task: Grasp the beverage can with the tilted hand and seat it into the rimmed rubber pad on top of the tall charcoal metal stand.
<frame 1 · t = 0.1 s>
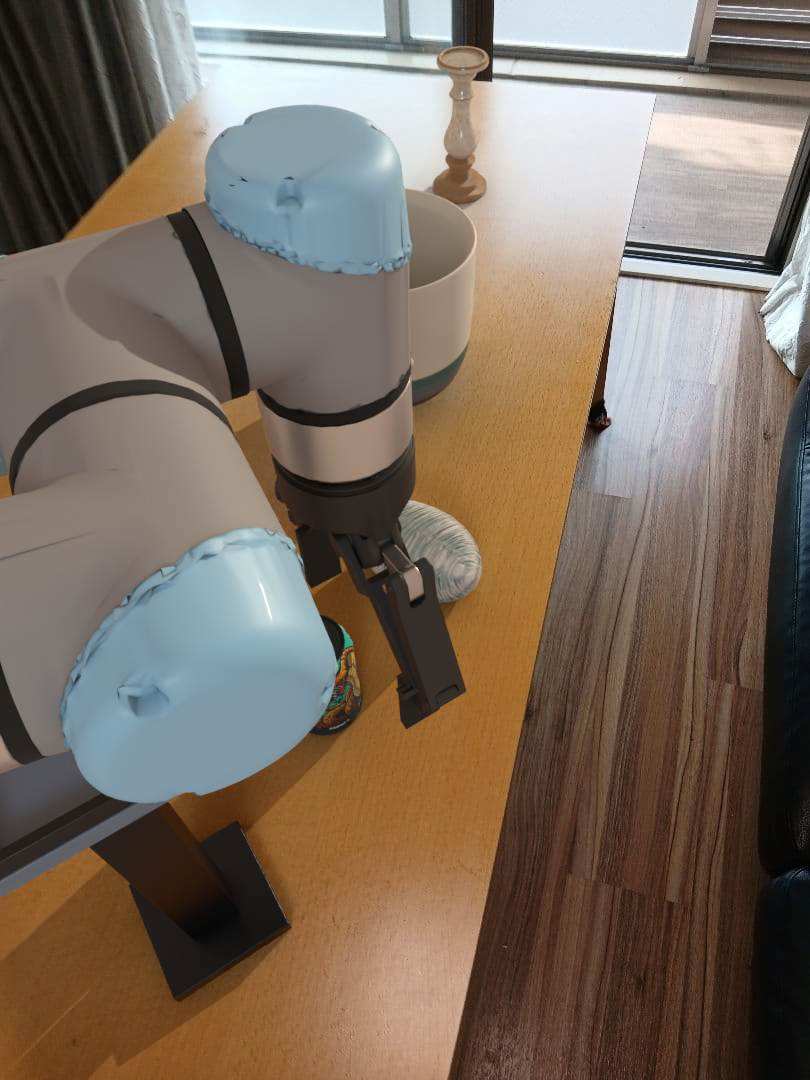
hand: (369, 642, 59), 21 cm above the table, tool pointing down, fingers open, 13 cm apart
grey streaked ellipsoid: (420, 574, 88), on the table
beverage can: (326, 705, 79), on the table
mug: (310, 202, 133), on the table
candle holder: (459, 190, 134), on the table
plate: (123, 365, 110), on the table
planter: (392, 386, 106), on the table
pad stand: (211, 908, 68), on the table
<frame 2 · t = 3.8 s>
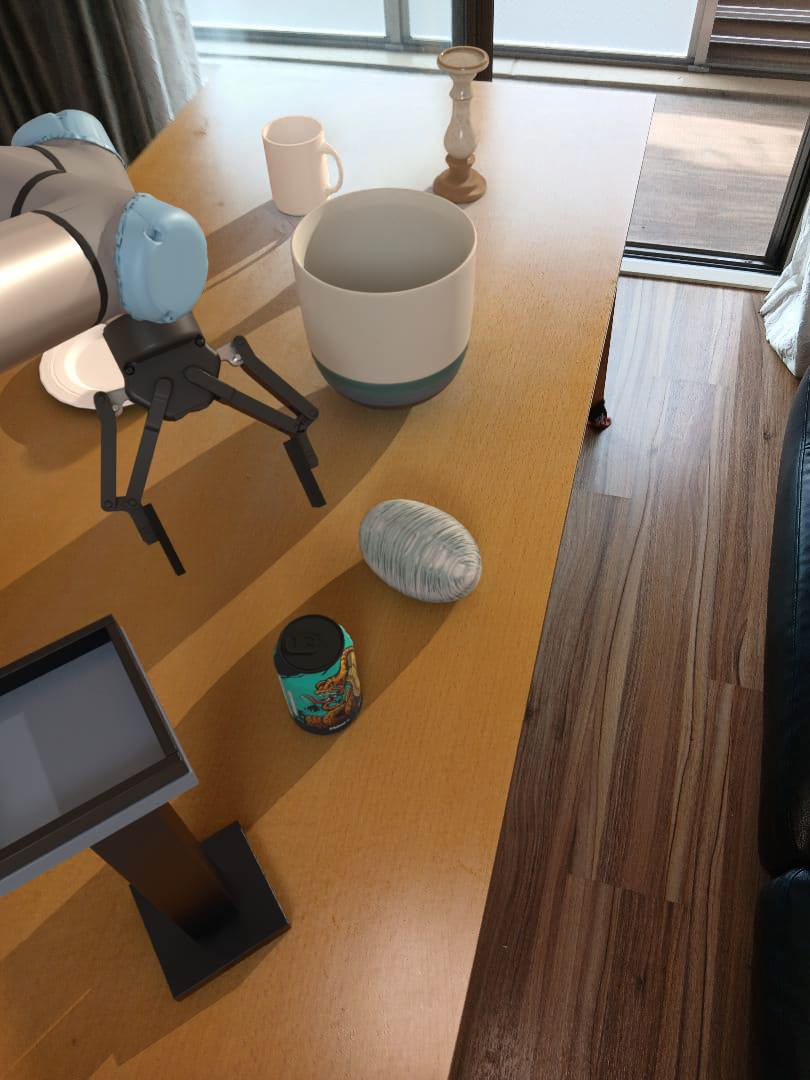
hand: (252, 539, 72), 15 cm above the table, tool tilted 45°, fingers open, 13 cm apart
nothing on the table moved.
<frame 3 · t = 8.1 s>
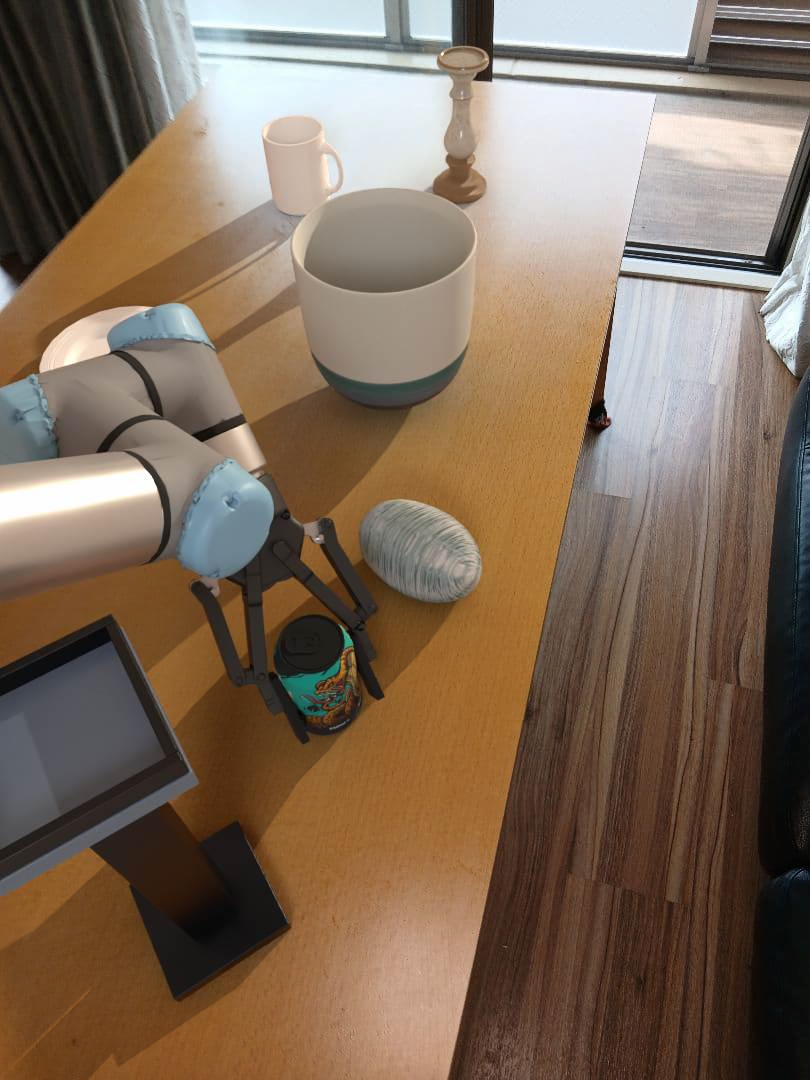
hand: (340, 716, 74), 4 cm above the table, tool tilted 45°, fingers closed on beverage can, 7 cm apart
beverage can: (326, 705, 79), on the table, touching gripper
everything else where it was.
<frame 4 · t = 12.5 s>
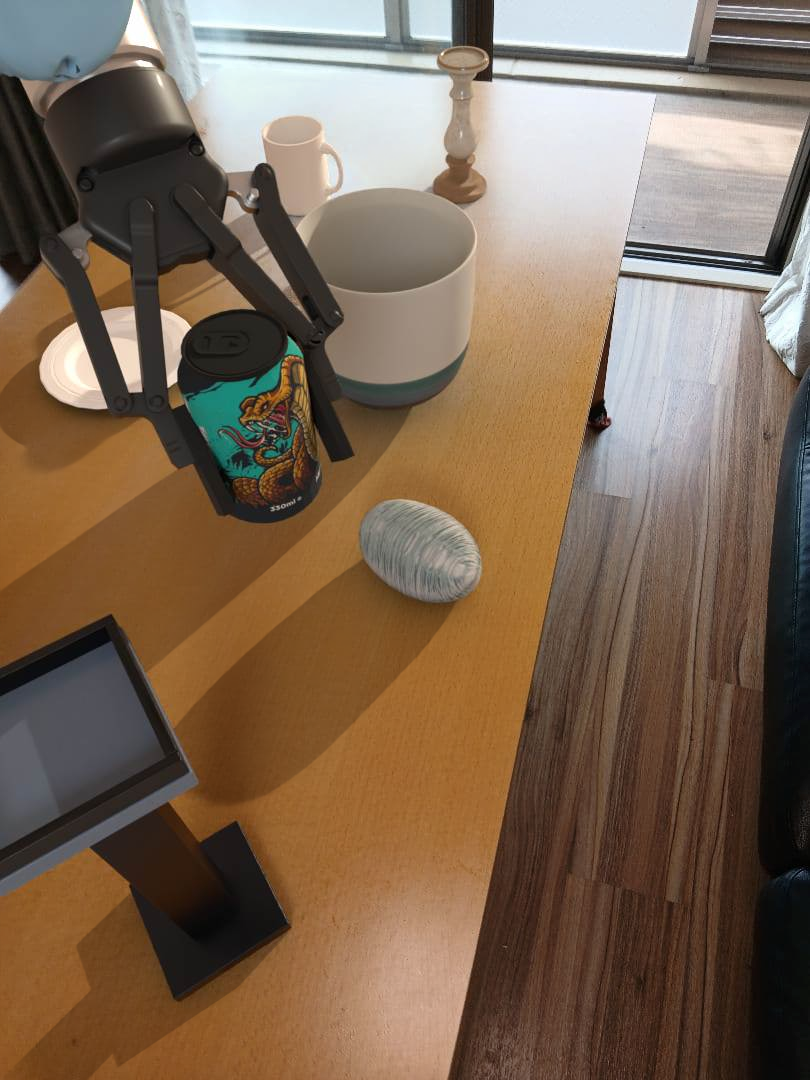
hand: (286, 484, 48), 36 cm above the table, tool tilted 45°, fingers closed on beverage can, 7 cm apart
beverage can: (270, 490, 53), point 32 cm above the table, touching gripper
everything else where it was.
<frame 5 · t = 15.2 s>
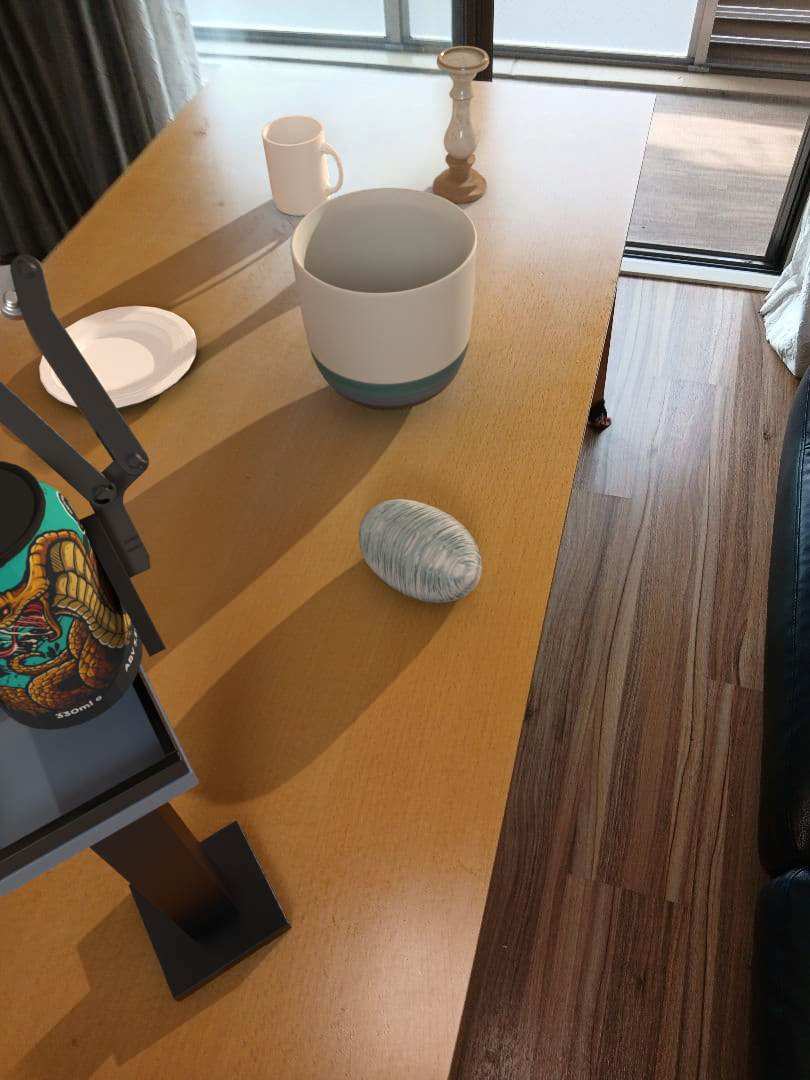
hand: (71, 689, 35), 41 cm above the table, tool tilted 45°, fingers closed on beverage can, 7 cm apart
beverage can: (76, 671, 40), point 37 cm above the table, touching gripper
everything else where it was.
when the fingers open (38 cm above the table, at t = 17.0 s): beverage can stays where it is, resting on pad stand.
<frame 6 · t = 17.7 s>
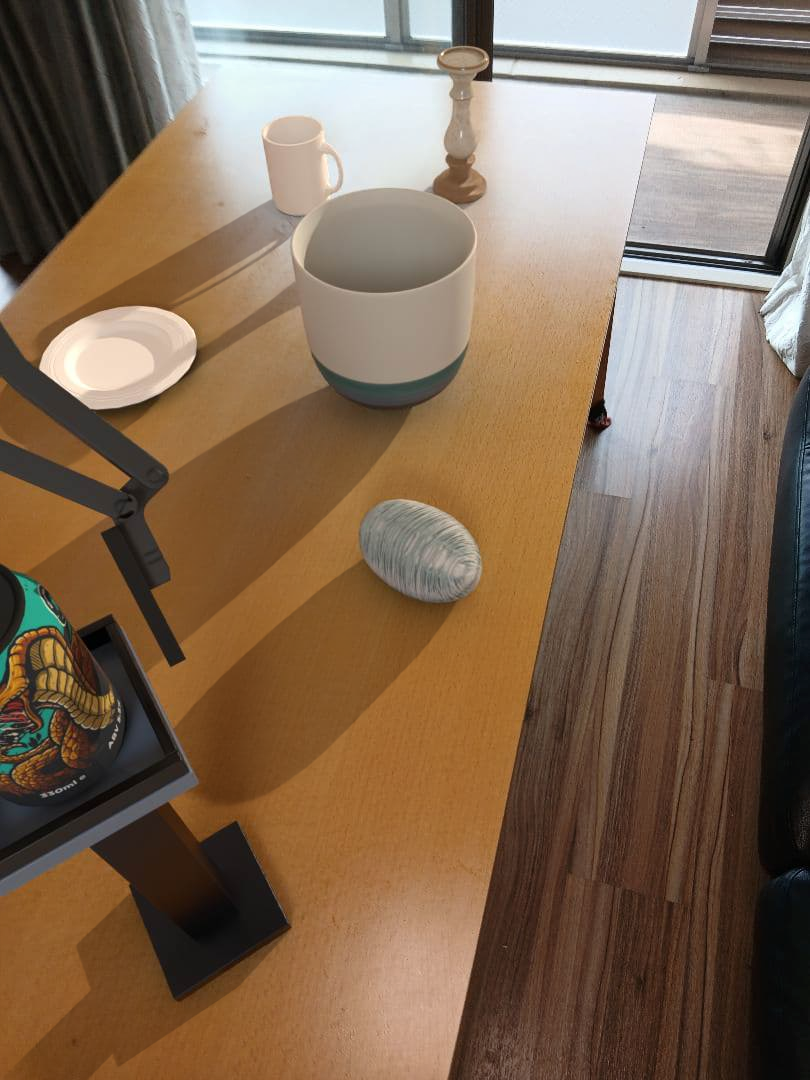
hand: (29, 735, 35), 40 cm above the table, tool tilted 45°, fingers open, 13 cm apart
beverage can: (62, 744, 41), point 34 cm above the table, touching pad stand
everything else where it was.
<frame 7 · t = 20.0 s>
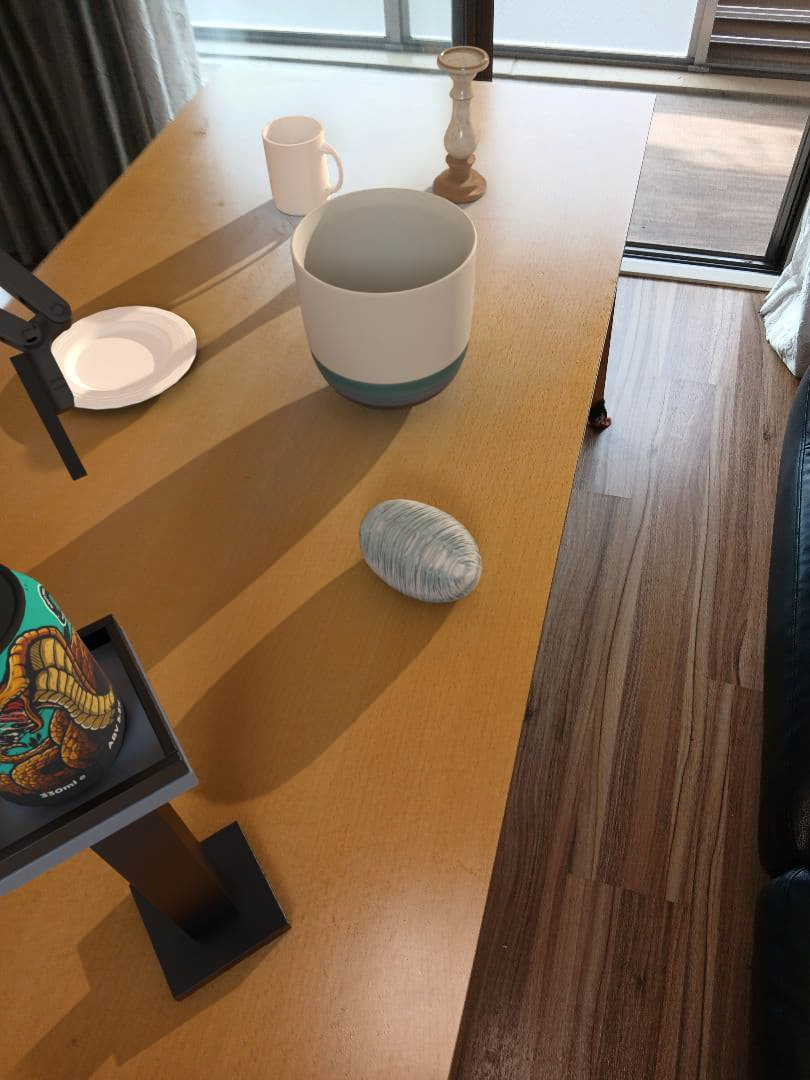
nothing on the table moved.
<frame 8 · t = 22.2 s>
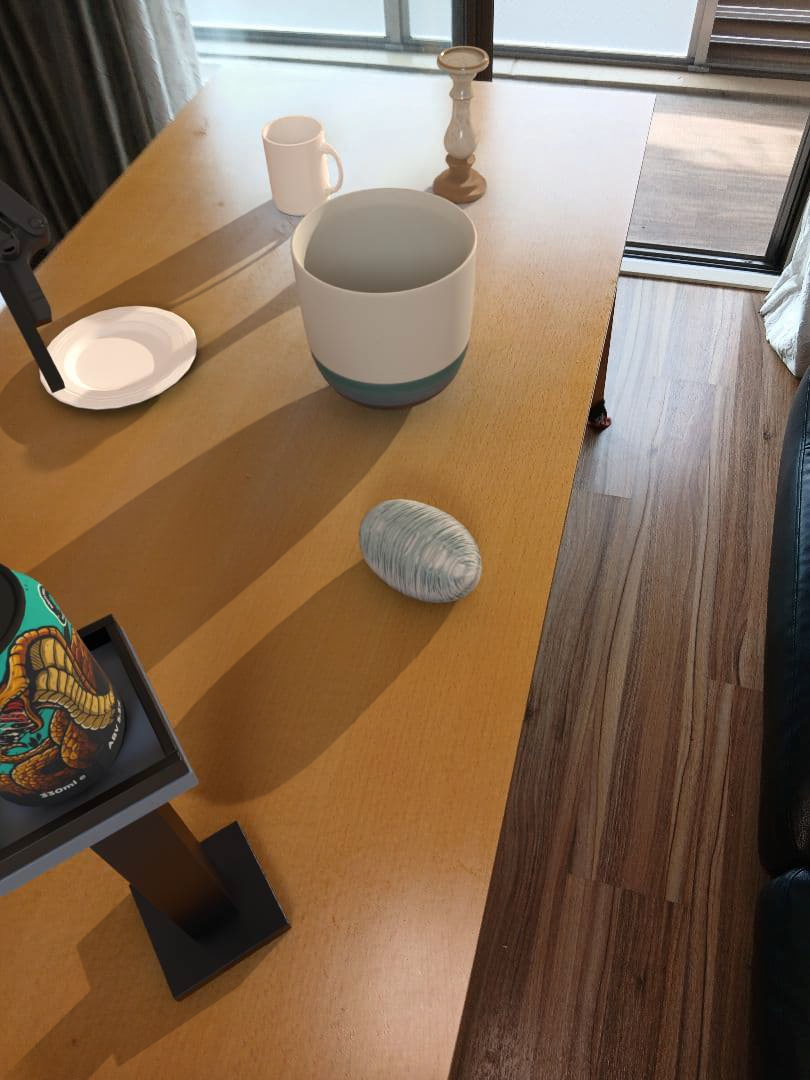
nothing on the table moved.
at the end: beverage can 0.1 cm off-centre on the pad stand, point 33.8 cm above the pad stand's base; beverage can tilted 0°; the gripper is holding nothing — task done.
